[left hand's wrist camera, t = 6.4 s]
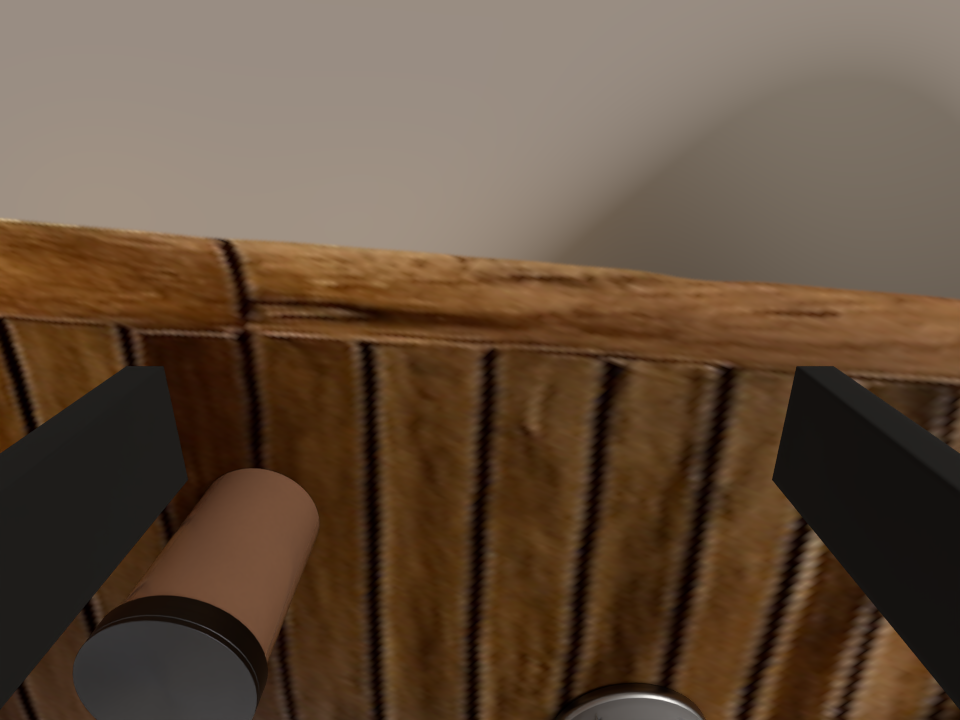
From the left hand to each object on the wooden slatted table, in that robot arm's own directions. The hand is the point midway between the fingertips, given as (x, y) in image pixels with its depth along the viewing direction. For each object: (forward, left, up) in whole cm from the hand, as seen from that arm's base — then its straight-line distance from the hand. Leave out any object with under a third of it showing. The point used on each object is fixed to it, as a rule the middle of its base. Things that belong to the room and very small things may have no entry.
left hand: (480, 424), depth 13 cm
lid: (-23, +18, -13) cm, 32 cm away
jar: (-23, +18, -28) cm, 40 cm away
